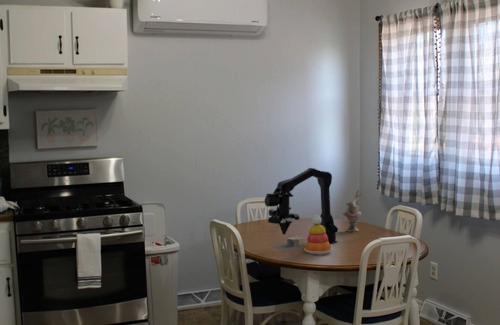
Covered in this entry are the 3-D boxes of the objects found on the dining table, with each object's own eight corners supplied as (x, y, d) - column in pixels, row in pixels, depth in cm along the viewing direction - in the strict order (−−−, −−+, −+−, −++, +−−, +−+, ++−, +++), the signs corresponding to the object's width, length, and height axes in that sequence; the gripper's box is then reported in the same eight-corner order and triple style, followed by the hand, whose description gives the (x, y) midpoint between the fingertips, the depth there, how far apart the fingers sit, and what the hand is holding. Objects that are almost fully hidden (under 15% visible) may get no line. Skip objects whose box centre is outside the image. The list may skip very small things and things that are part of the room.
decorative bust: (354, 232, 324) (354, 190, 326) (340, 231, 335) (340, 190, 337) (368, 232, 330) (367, 190, 332) (354, 231, 341) (353, 190, 343)
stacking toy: (337, 252, 283) (337, 214, 282) (321, 257, 273) (321, 218, 271) (314, 247, 293) (314, 211, 291) (298, 252, 282) (298, 215, 280)
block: (293, 246, 294) (303, 244, 300) (293, 240, 294) (303, 237, 300) (287, 245, 298) (296, 242, 304) (287, 238, 298) (296, 236, 303)
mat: (310, 244, 300) (310, 244, 300) (285, 250, 286) (285, 250, 286) (296, 241, 307) (296, 241, 307) (271, 247, 294) (271, 247, 294)
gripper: (284, 201, 304) (284, 229, 305) (260, 205, 291) (260, 234, 292) (300, 204, 296) (299, 232, 297) (276, 208, 283) (275, 237, 284)
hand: (283, 234), depth 293 cm, fingers closed
